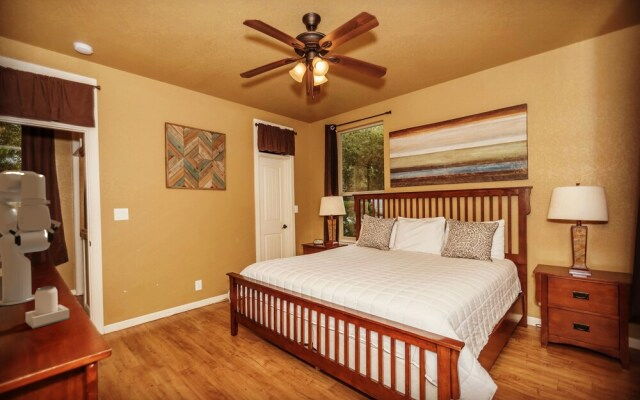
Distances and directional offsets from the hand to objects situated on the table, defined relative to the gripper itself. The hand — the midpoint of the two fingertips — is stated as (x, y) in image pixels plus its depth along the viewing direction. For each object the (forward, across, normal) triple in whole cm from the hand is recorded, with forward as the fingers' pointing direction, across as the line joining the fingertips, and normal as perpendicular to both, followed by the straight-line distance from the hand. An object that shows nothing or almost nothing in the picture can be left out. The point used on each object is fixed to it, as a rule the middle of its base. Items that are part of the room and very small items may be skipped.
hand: (34, 244), depth 127 cm
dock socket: (+28, 0, +18) cm, 34 cm away
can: (+28, +1, +18) cm, 33 cm away
